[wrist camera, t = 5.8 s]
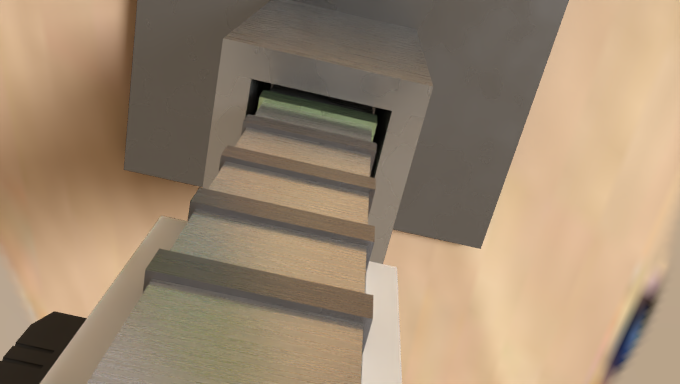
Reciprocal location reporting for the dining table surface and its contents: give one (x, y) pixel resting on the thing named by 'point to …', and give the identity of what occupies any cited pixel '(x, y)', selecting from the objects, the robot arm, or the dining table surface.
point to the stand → (350, 92)
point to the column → (265, 259)
